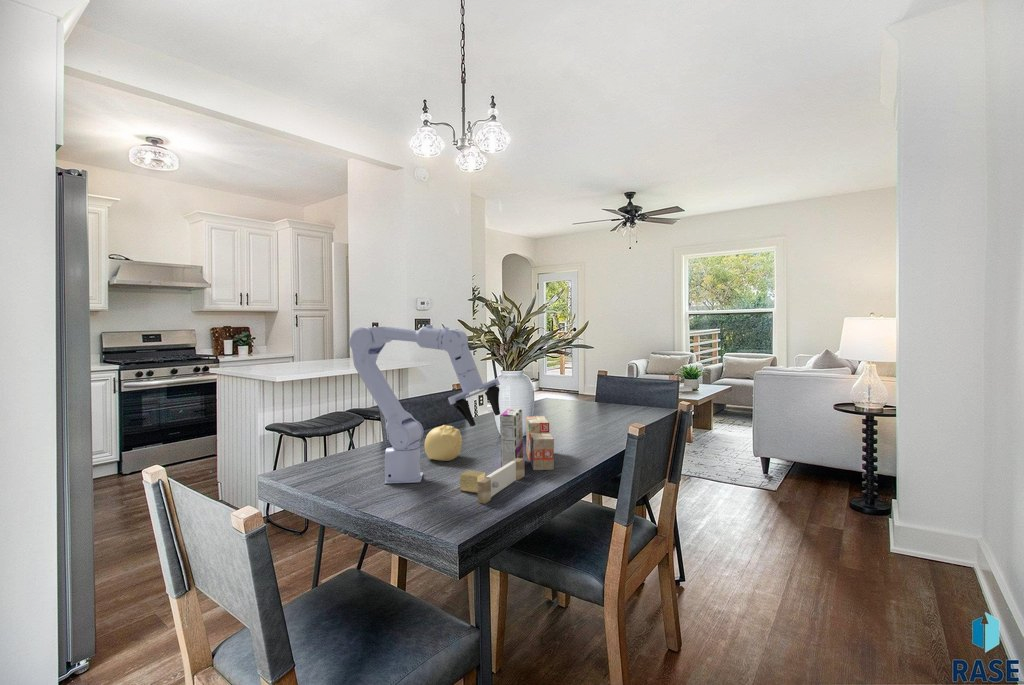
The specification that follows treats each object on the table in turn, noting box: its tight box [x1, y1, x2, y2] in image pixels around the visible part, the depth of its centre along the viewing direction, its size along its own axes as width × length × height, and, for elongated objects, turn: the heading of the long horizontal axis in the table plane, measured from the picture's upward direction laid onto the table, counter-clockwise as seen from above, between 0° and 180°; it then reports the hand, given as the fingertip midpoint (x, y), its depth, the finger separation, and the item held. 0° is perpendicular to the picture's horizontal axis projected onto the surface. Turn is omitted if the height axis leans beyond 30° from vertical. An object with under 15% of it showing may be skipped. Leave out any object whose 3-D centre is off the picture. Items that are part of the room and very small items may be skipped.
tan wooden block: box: [459, 469, 486, 495], centre depth 125 cm, size 5×4×4 cm
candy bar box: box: [499, 408, 524, 468], centre depth 147 cm, size 11×5×16 cm, turn 168°
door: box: [485, 461, 517, 498], centre depth 125 cm, size 2×15×5 cm, turn 155°
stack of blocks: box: [525, 415, 555, 471], centre depth 152 cm, size 21×6×12 cm, turn 4°
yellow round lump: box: [424, 424, 463, 462], centre depth 155 cm, size 11×12×11 cm
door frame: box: [477, 457, 526, 505], centre depth 126 cm, size 2×23×5 cm, turn 155°
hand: (485, 420), depth 129 cm, fingers open, 7 cm apart
